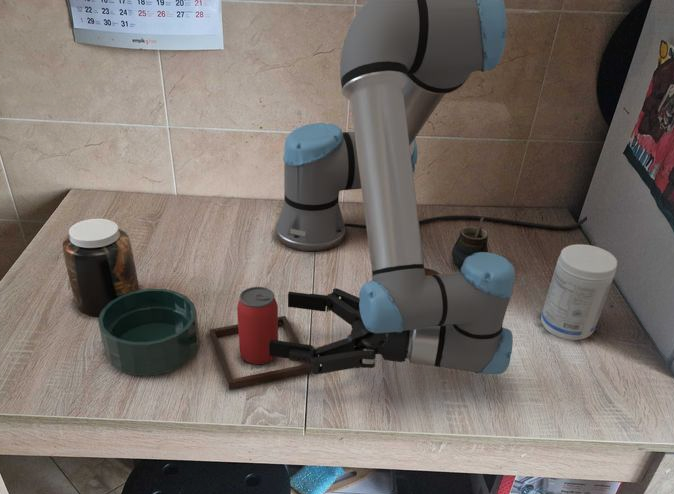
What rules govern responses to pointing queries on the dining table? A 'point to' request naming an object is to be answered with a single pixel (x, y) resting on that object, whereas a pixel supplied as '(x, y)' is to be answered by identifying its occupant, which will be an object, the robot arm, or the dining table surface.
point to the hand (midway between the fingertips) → (279, 322)
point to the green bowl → (149, 331)
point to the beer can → (257, 324)
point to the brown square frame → (261, 377)
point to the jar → (99, 264)
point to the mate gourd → (469, 243)
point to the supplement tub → (578, 291)
